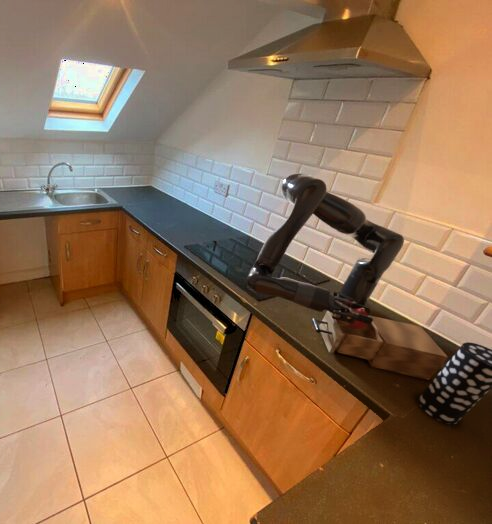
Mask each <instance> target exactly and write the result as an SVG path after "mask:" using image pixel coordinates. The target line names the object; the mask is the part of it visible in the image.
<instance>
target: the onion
mask: <svg viewBox="0 0 492 524" xmlns="http://www.w3.org/2000/svg"><path fill="white" fill-rule="evenodd" d="M353 311H355V312H357V313H360V314H363V315H366V316H368V315H369V313H368V314H367V313H366V311H365V309H364V308H360V309H353ZM349 313H350V312H349ZM350 314H352V313H350ZM347 319H349V318H347ZM347 323H348V322H347ZM348 325H349V326H350V328H352V329H361V328H364V327H366V326H367V324H366V323H363V322H360V321H357V320H356V321H354V323H348Z"/></svg>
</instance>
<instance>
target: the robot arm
mask: <svg viewBox="0 0 492 524" xmlns="http://www.w3.org/2000/svg"><path fill="white" fill-rule="evenodd" d="M280 189H281V191H280V192H281V195H282V197H283V198H284V200H286V201H287V202H288V203H289V204H292V205H293V208H292V210H291V212H290V214H289V216H288V217H287V219H285V221H284V222H283V223H282V224H280V226H278V227H277V228H276V229H275V230H273V231H272V232H271V233H270V234H269V235H268V237H267V238H265V239H266V240H265V242H264V243H263V245H262V246H261V249H260V251H259V253H258V256H257V259H256V260H255V262H254V263H253V266H252V268H250V270H249V273H248V275H247V277H246V280H245V284H246V286H247V288H248V289H249V290H250V291H252V292H254V293H256V294H258V295H259V294H260V295H264V296H271V297H277V298H281V299H283V300H286V301H289V302H291V303H294V304H296V305H299V306H301V307H304V308H307V309H310V310H313V311H316V312H319V313H323V312H324V311H326V312H327V311H329V312H331V313H332V314H333V315H332V318H333V319H336V320H340V321H344V322H348V323H354V321H356V320H357V321H360V322H363V323H366V324H369V325H370V324H371V323H372V321H373V318H372V317H369V316H370V315H369V313H370V312H371V307H369V306H366V305H367V303H368V302H369V300H370V298H371V296H372V294H373V292H374V291H375V289H376V287H377V285H378V284H379V282H380V280H381V278H382V277H383V275H384V273H385V272H386V271H387V270H388V269H389V268H390V267H391V265H392V264H393V262H394V261H395V259H396V258H397V257H398V254H399V253H400V251H401V250H402V248H403V246H404V243H405V238H404V236H403V235H402V234H400V233H399V232H397V231H395V230H392V229H389V228H387V227H385V226H382V225H379V224H377V223H374V222H372V221H370V220H368V218H367V216H366V214H365V212H364V211H363V210H362V209H361V208H359V207H358V206H356V205H355V204H354V203H352V202H350V201H348V200H347V199H345V198H342V197H340V196H338V195H336V194H334V193H331V192H329V191H327V189H328V188H327V184H326V182H325V181H324V180H322V179H321V178H318V177H316V176H313V175H310V174H308V173H304V172H295V173H292V174H290V175H288V176H287V177H286V178H284V180H283V182H282V183H281V188H280ZM312 216H315V217H316V218H317V219H318V220H320V221H321V222H323V223H324V224H325V225H327V226H328V227H329V228H331V229H333V230H334V231H336V232H338V233H339V234H342V235H345V236H349V237H351V238H353V239H354V241H356V242H357V243H358V244H359V245H360V246H361V247H362V248H364V249H365V250H367V251H369V252H371V253H372V254H373V255H372V257H371V258H367V257H360V258H356V260H355V261H354V263H353V265H352V267H351V269H350V271H349V273H348V275H347V278H346V280H344V282H343V284H342V286H341V288H340V289H339V291H335V290H334V291H333V292H332V294H331V291H330V289H327V288H324V287H321V286H317V285H314V284H311V283H308V282H303V281H298V280H295V279H292V278H289V277H286V276H281V277H279V278H278V277H274V276H272V275H273V273H274V272H275V270H276V268H277V267H278V266H279V265H280V263H281V262H282V259H284V256H285V255H286V252H287V251H288V249H289V248H290V245H291V244H292V242H293V241H294V239H295V237H296V236H297V235H298V233H299V232H300V231H301V230H302V229H303V227H304V226H305V225H306V223H307V222H308V221H309V220H310V218H311V217H312ZM360 308H364V309H365V311H366V313H367V314H368V315H369V316H366V315H363V314H360V313H357V312H355V311H353V309H360ZM349 312H350V313H352V314H350V313H349ZM347 318H349V319H347Z"/></svg>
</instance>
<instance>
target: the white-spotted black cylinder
mask: <svg viewBox="0 0 492 524" xmlns="http://www.w3.org/2000/svg"><path fill="white" fill-rule="evenodd" d="M491 389H492V349H491V348H490V347H487V346H484V345H482V344H480V343H479V344H478V343H475V342H471V341H470V342H469V341H468V342H467V341H465V342H463V343H462V345H460V347H459V348H458V349H457V351H456V352H455V353H453V355H452V356H451V357H450V359H449V360H448V361H447V362H446V364H444V366H443V367H442V368H441V369H440V371H439V372H438V373H437V374H436V376H435V377H434V378H433V379H432V380H431V382H430V383H429V384H428V385H427V386H426V388H425V389H424V390H423V391H422V392H421V393H420V395H419V396H418V397H417V402H418V405H419V406H420V408H421V409H423V411H425V413H426V414H428V415H429V416H431V417H432V418H433V419H436V420H437V421H440V422H441V423H444V424H447V425H457V424H458V422H459V421H461V420H462V418H464V416H466V414H467V413H468V412H469V411H470V410H472V408H474V406H475V405H477V404H478V402H479V401H480V400H481V399H483V397H484V396H485V395H486V394H487V393H489V391H490V390H491Z"/></svg>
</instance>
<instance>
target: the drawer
mask: <svg viewBox="0 0 492 524" xmlns="http://www.w3.org/2000/svg"><path fill="white" fill-rule="evenodd" d="M332 315H333V314H332V313H331V312H329V311H327V310H326V312H325V314H324V316H323V318H322V320H319V319H317V318H316V317H313V318H311V322H312V324H313V327H314V329H315V332H316V333H317V334H321V337H322V339H323V341H324V344H325V346H326V349H327V351H328V353H329V354H334V353H335V351H336V353H339V354H342V355H347V356H351V357H355V358H360V359H364V360H366V361H368V360H372V361H373V360H374V358H375V356H376V355H377V353H378V352H379V350H380V349H381V347H382V346H383V344H384V342H383V341H382V339H381V338H380V336H379V335H378V333H377V332H376V330H375V329H374V327H373V326H372V324H370V325H369V324H367V326H366V327H364V328H361V329H352V328H350V326H349V325H348V323H347V322H344V321H340V320H336V319H333V318H332Z"/></svg>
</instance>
